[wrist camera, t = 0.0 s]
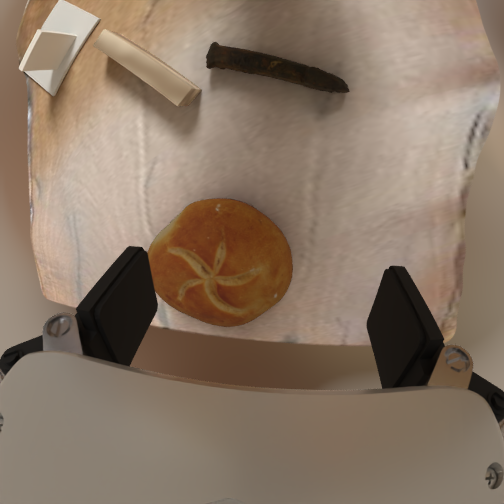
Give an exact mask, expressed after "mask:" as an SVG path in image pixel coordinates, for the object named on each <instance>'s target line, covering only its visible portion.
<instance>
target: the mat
mask: <svg viewBox="0 0 504 504" xmlns="http://www.w3.org/2000/svg"><path fill="white" fill-rule="evenodd" d="M100 20H101V19H99V18H98V17H96V16H94V15H92V14H90V13H88V12H86V11H84V10H82V9H80V8H78V7H76V6H74V5H72V4H70V3H68V2H66V1H64V0H59V1H58V3H57V4H56V6H55V7H54V9H53V10H52V12H51V13H50V15H49V17H48V18H47V20H46V21H45V23H44V25H43V26H42V28H41V30H50V31H58V32H65V33H72V34H74V35H76V36H77V37H76V38H75V40H74V41H73V43H72V45H71V46H70V48H69V50H68V51H67V53H66V55H65V57H64V58H63V60H62V62H61V64H60V66H59V68H58V69H57V70H36V71H24V72H25V73H27V74H28V75H29V76H30V77H31V78H32V79H34V80H35V81H36V82H37V83H38V84H39V85H41V86H42V87H43V88H44V89H45V90H46V91H48V92H49V93H50V94H51V95H52V96H55V95H56V93H57V91H58V89H59V87H60V85H61V83H62V81H63V79H64V77H65V75H66V73H67V72H68V70H69V68H70V66H71V64H72V63H73V61H74V59H75V57H76V56H77V54H78V53H79V51H80V49H81V48H82V46H83V44H84V43H85V41H86V40H87V38H88V37H89V35H90V34H91V32H92V31H93V29H94V28H95V27H96V25H97V24H98V22H99V21H100Z"/></svg>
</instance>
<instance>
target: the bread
mask: <svg viewBox="0 0 504 504" xmlns="http://www.w3.org/2000/svg"><path fill="white" fill-rule="evenodd" d="M148 258H149V263H150V268H151V274H152V279H153V284H154V289H155V291H156V293H157V294H158V295H159V296H160V297H161V298H162V299H163V300H164V301H165V302H166V303H168V304H169V305H170V306H172V307H173V308H175V309H177V310H178V311H180V312H182V313H185V314H187V315H189V316H191V317H193V318H196V319H198V320H201V321H203V322H206V323H209V324H212V325H217V326H224V327H232V326H239V325H243V324H245V323H248V322H250V321H252V320H254V319H255V318H257V317H258V316H260V315H261V314H263V313H264V312H265V311H267V310H268V309H270V308H271V307H272V306H274V305H275V304H276V303H277V302H279V301H280V300H281V299H282V297H283V296H284V295H285V293H286V291H287V289H288V287H289V285H290V282H291V278H292V270H293V265H292V255H291V251H290V247H289V245H288V243H287V240H286V238H285V237H284V235H283V233H282V232H281V231H280V229H279V228H278V227H277V226H276V225H275V224H274V223H273V222H272V221H271V220H270V219H269V218H268V217H267V216H265V215H264V214H263V213H261V212H260V211H258V210H257V209H255V208H254V207H252V206H250V205H248V204H246V203H243V202H240V201H237V200H232V199H207V200H201V201H197V202H194V203H192V204H190V205H188V206H187V207H186V208H185V209H184V210H183V211H182V212H181V213H180V214H179V215H177V217H176V218H175V219H174V220H172V222H171V223H170V224H169V225H168V226H167V227H166V228H164V229H163V230H162V231H161V232H160V233H159V234H158V235H157V236H156V238H155V239H154V241H153V242H152V244H151V246H150V248H149V250H148Z"/></svg>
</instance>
